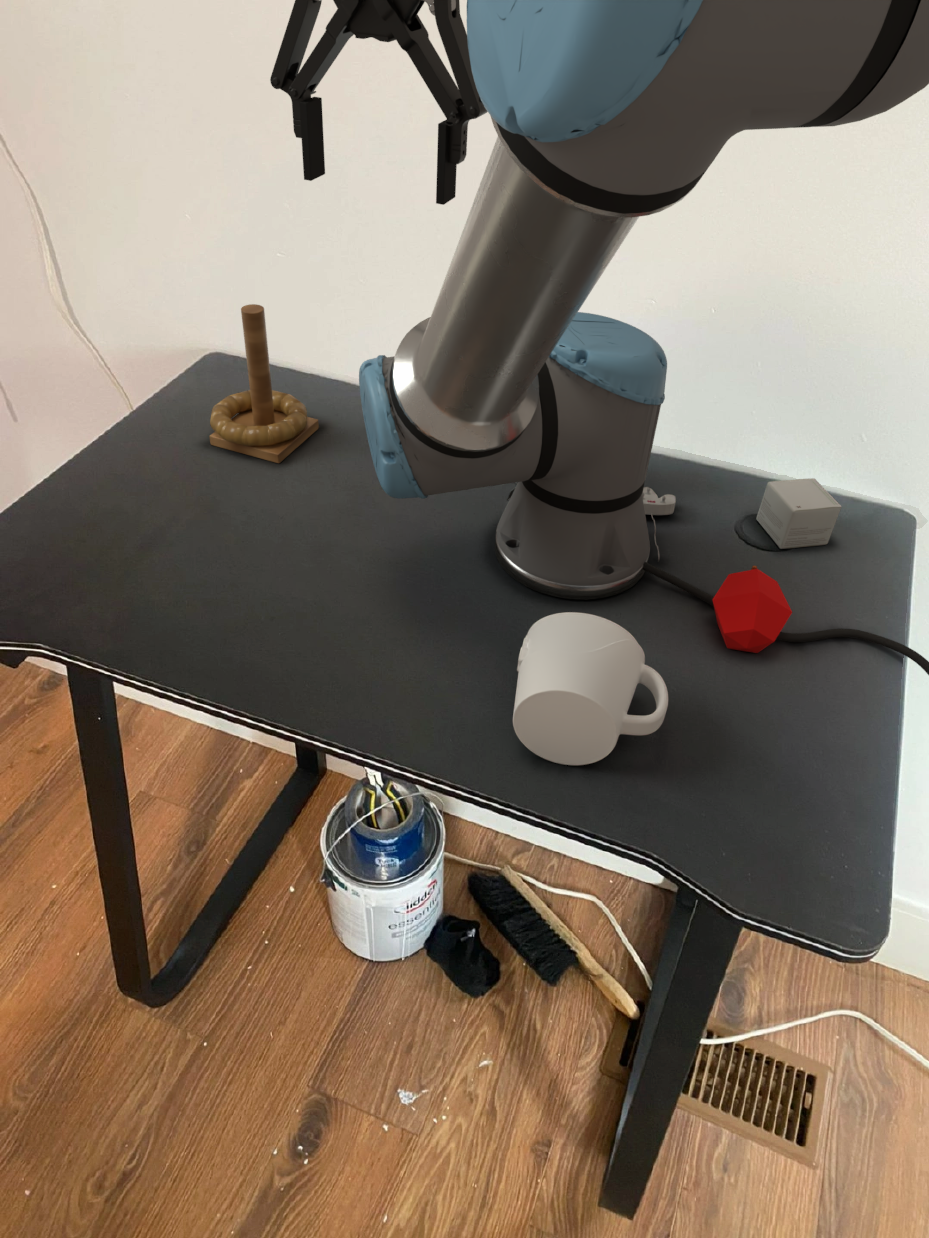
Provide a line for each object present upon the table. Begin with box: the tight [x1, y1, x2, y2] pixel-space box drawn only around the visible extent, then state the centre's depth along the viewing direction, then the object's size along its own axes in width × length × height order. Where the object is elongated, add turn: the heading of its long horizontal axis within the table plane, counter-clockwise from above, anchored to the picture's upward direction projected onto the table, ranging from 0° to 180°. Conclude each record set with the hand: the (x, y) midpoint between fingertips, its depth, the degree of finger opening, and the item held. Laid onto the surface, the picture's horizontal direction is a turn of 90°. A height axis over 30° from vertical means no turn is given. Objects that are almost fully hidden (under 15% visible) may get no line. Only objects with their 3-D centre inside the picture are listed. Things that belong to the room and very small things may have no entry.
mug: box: [512, 611, 669, 766], centre depth 72 cm, size 12×9×8 cm
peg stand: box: [209, 303, 320, 464], centre depth 102 cm, size 9×9×15 cm
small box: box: [755, 477, 843, 550], centre depth 95 cm, size 6×6×5 cm
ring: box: [209, 389, 308, 446], centre depth 105 cm, size 11×11×2 cm
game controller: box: [642, 486, 677, 562], centre depth 96 cm, size 6×12×3 cm, turn 15°
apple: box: [712, 565, 793, 654], centre depth 82 cm, size 7×7×8 cm
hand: (378, 189), depth 86 cm, fingers open, 13 cm apart
